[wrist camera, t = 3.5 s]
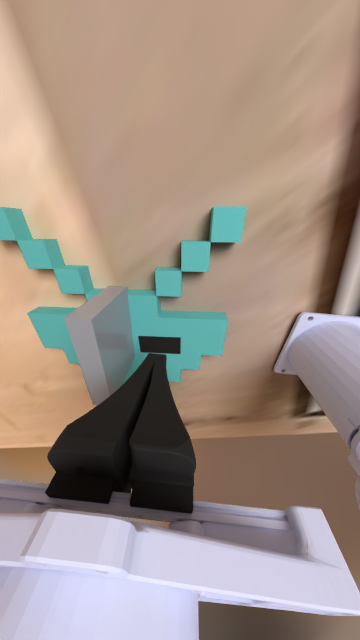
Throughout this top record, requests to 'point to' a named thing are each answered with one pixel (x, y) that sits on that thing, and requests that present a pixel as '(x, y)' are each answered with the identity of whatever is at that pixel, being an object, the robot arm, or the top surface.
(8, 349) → the top surface
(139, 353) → the alien figure
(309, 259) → the top surface
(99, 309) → the tile
